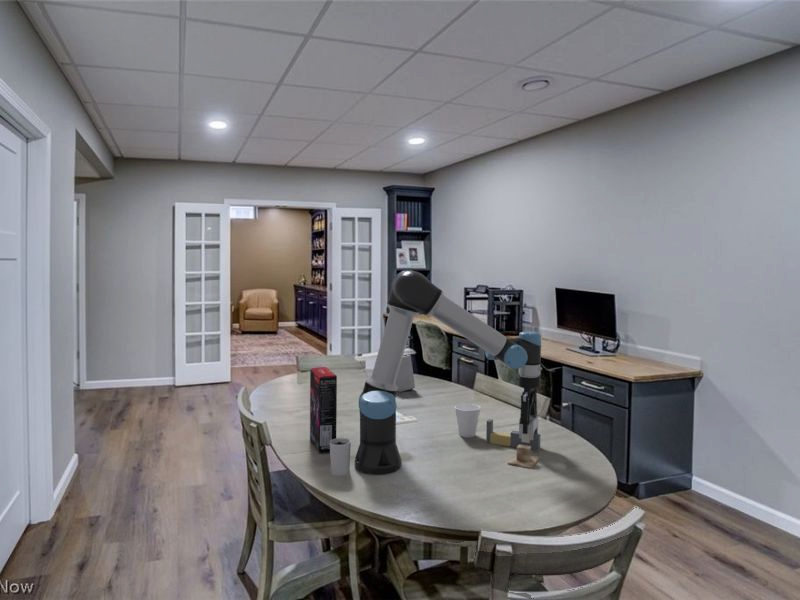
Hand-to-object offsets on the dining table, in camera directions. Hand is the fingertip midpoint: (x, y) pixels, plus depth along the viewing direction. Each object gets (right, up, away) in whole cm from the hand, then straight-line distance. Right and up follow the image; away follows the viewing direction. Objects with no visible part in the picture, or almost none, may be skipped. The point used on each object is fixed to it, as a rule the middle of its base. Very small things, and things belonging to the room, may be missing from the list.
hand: (528, 438), depth 198 cm
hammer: (-5, -3, +3) cm, 6 cm away
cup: (-20, -2, +14) cm, 25 cm away
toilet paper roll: (-65, -5, -23) cm, 69 cm away
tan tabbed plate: (-5, -4, -13) cm, 15 cm away
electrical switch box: (-48, +3, +88) cm, 101 cm away
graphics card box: (-73, -3, +2) cm, 74 cm away
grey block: (0, +1, 0) cm, 1 cm away
